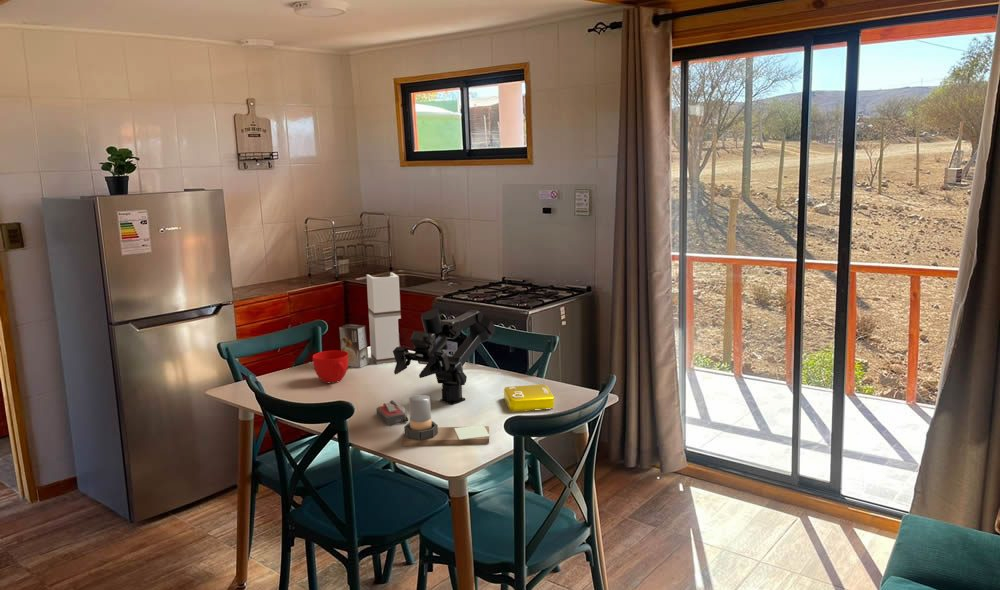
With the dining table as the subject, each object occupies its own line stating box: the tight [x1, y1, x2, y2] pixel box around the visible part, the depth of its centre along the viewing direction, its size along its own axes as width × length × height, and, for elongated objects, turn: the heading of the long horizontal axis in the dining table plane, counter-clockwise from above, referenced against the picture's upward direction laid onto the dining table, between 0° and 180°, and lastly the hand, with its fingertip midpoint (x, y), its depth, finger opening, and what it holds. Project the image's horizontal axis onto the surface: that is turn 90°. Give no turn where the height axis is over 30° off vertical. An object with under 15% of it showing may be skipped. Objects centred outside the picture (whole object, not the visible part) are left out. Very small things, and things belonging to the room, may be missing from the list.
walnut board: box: [401, 425, 490, 447], centre depth 216 cm, size 25×10×2 cm, turn 91°
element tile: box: [503, 384, 555, 412], centre depth 245 cm, size 15×15×5 cm
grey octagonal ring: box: [403, 420, 439, 440], centre depth 216 cm, size 10×10×2 cm
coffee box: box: [338, 323, 370, 368], centre depth 293 cm, size 9×6×16 cm
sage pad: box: [454, 425, 491, 440], centre depth 216 cm, size 9×9×1 cm
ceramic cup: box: [312, 349, 349, 383], centre depth 272 cm, size 13×17×10 cm
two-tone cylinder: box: [409, 394, 433, 431], centre depth 215 cm, size 6×6×11 cm
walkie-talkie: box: [376, 400, 409, 426], centre depth 237 cm, size 9×4×20 cm
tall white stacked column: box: [365, 272, 402, 365], centre depth 299 cm, size 11×11×35 cm
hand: (407, 374), depth 224 cm, fingers open, 9 cm apart
